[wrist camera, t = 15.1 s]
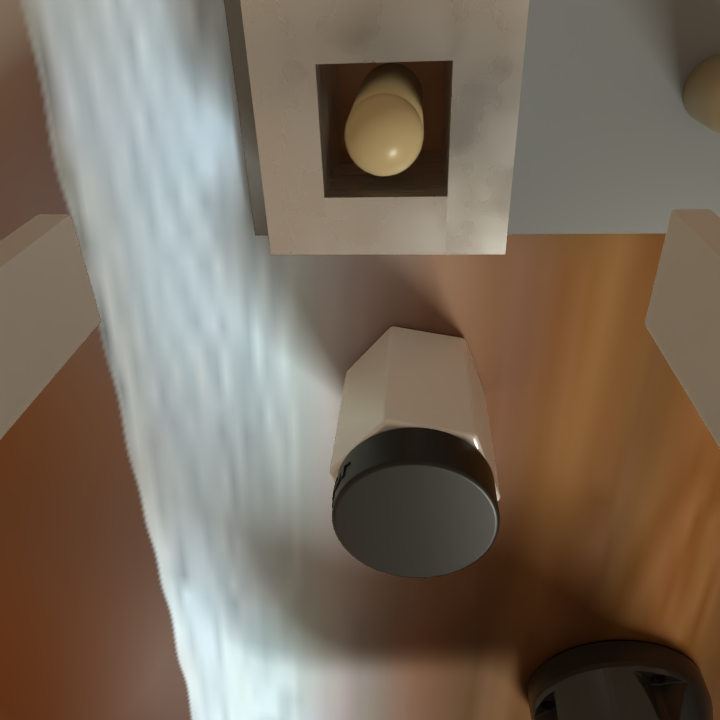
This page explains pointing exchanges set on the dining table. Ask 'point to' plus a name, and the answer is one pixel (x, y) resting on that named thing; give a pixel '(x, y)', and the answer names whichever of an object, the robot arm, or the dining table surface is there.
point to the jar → (414, 458)
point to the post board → (555, 115)
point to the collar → (432, 167)
